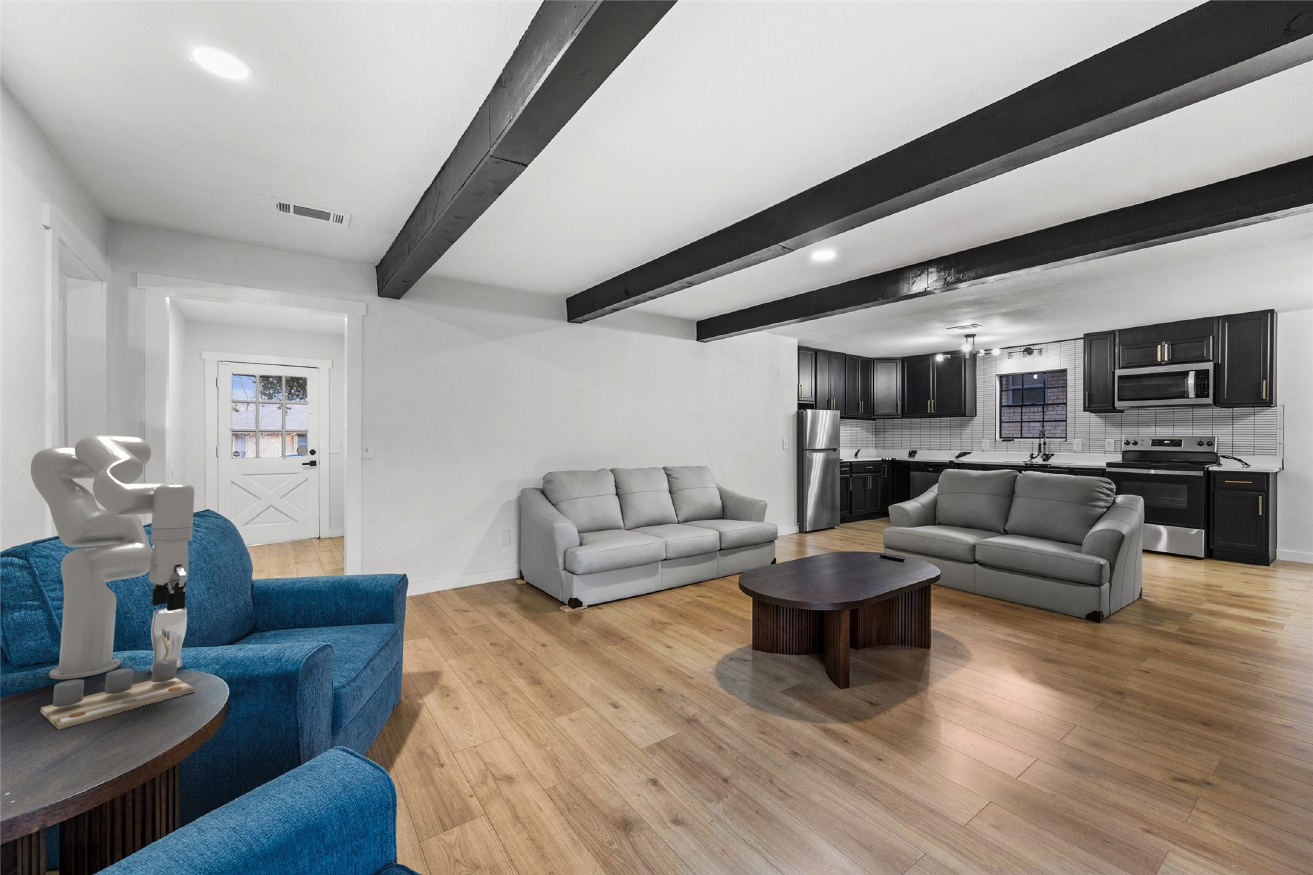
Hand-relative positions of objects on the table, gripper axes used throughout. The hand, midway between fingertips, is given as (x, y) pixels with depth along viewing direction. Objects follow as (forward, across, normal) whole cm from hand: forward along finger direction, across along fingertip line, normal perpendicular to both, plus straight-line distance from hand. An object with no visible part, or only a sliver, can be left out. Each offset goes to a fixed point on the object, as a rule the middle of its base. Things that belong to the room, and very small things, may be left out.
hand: (168, 606), depth 132 cm
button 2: (+17, -1, 0) cm, 17 cm away
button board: (+19, +1, -8) cm, 21 cm away
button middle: (+17, -1, -8) cm, 19 cm away
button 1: (+17, 0, -16) cm, 23 cm away
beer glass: (+19, -16, +5) cm, 25 cm away
